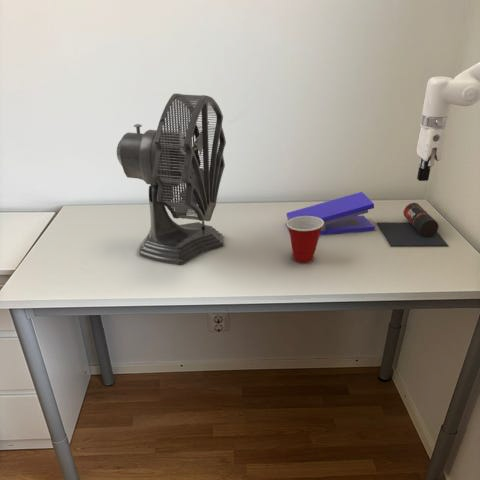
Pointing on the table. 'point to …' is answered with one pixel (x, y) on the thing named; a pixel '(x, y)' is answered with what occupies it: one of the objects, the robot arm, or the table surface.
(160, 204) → the desk fan
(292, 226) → the plastic cup
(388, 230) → the mat
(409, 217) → the deodorant
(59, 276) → the table surface
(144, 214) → the table surface
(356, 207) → the stapler
